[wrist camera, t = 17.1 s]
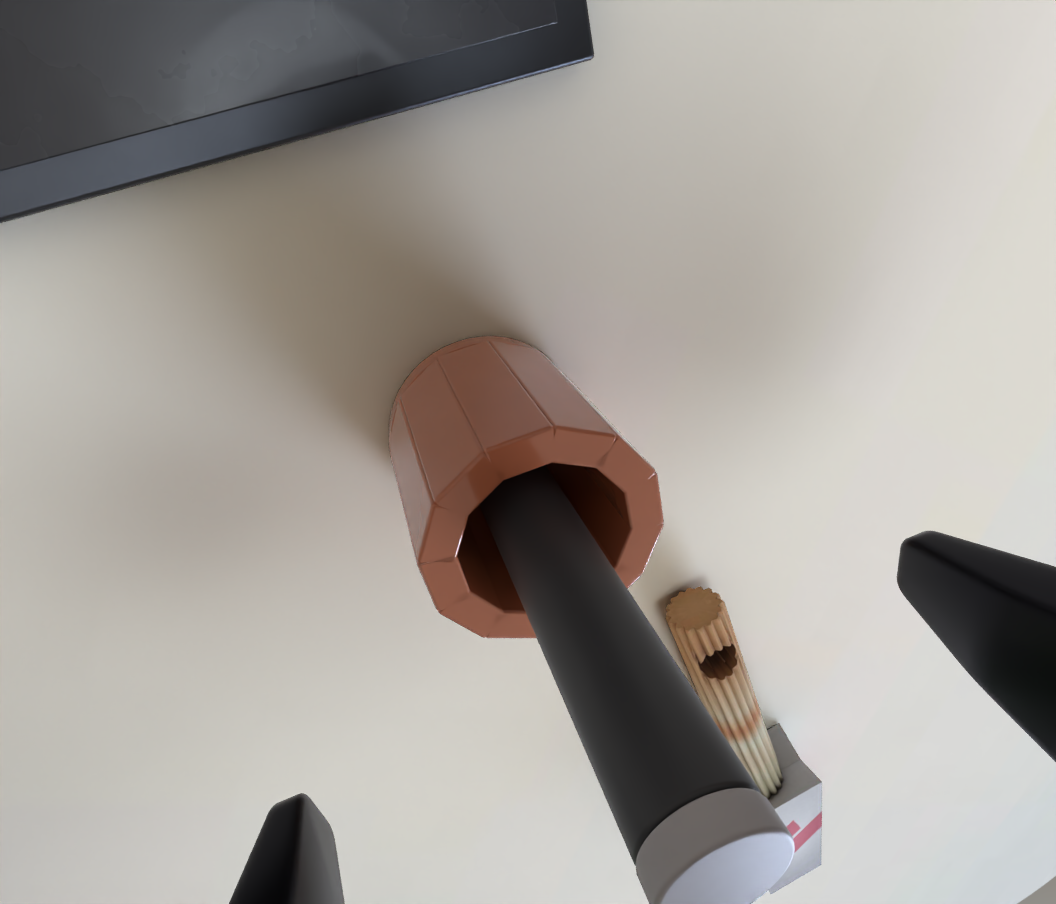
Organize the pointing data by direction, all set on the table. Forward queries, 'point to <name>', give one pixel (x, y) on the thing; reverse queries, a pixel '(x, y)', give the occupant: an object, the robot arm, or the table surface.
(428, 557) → the pen cup
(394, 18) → the tablet
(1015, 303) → the table surface
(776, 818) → the stylus
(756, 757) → the paintbrush
